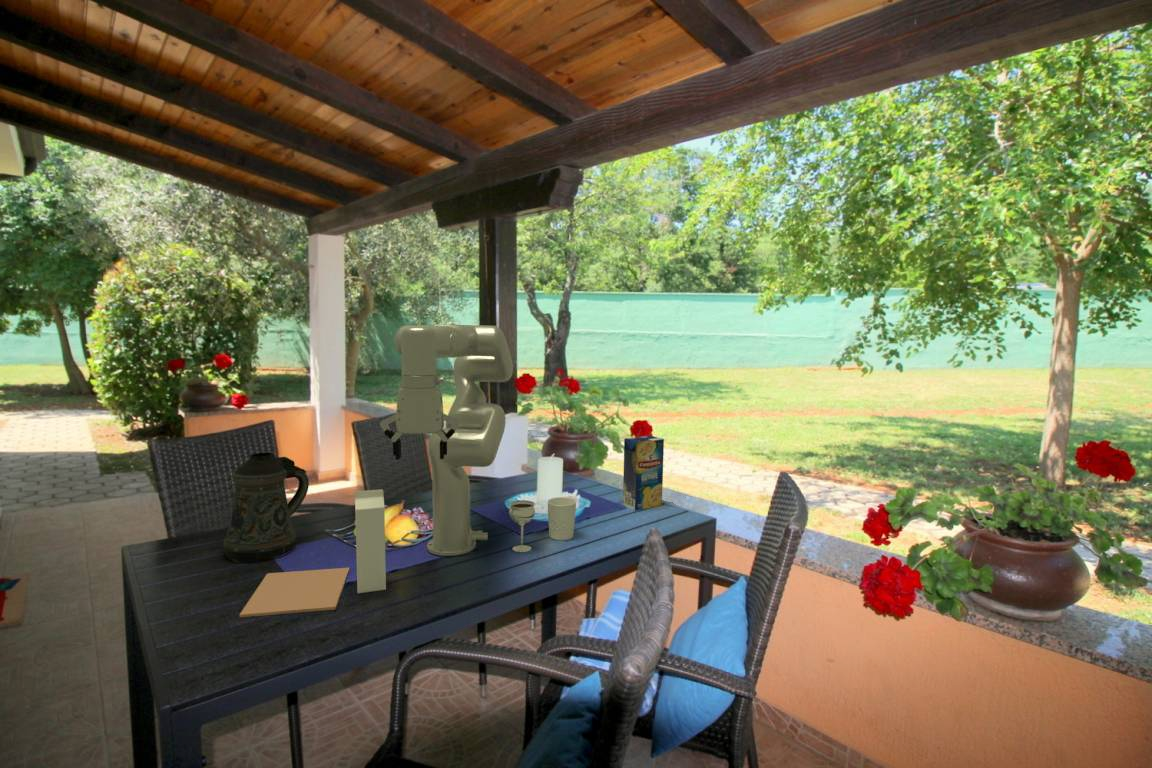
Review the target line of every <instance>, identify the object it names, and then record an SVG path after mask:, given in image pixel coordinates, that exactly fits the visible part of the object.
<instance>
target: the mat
mask: <svg viewBox="0 0 1152 768" xmlns="http://www.w3.org/2000/svg"><path fill="white" fill-rule="evenodd" d="M349 569H350V567H339V568H337V567H336V568H325V569H310V570H295V571H286V572H285V571H283V572H282V571H281V572H268V573H266V575H265V576H264V578H263V580H262V581H261V582H260V584H259V585H258V586H257V588H256V589H255V591H254V593H253V594H252V595H251V597H250V598H249V600H248V601H247V603H246V605H244V607H243V609H242V610H241V612H240V613H239V614H238V615H239V618H249V617H250V618H251V617H252V616H253V617H264V616H273V615H274V616H275V615H285V614H298V613H309V612H320V611H321V612H322V611H332V610H333V611H334V610H337V606H338V603H339V602H340V601H339V600H340V598H341V595H342V592H343V589H344V587H345V584H346V582H345V580H346V581H347V579H346V577H347V578H348V576H347V574H348V575H349V573H350V570H351V569H350V570H349ZM348 572H349V573H348Z"/></svg>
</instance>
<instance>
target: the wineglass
mask: <svg viewBox="0 0 1152 768" xmlns="http://www.w3.org/2000/svg"><path fill="white" fill-rule="evenodd" d="M508 505H509V507H510V508H509V510H508V514H509V517H510V519H511V520H512V521H513V522H514V523H516V524H518V525H519V526H520V544H519V545H515V546H513V547H512V550H513V551H514V552H518V553H527V552H529V551H531V550H532V547H531V546H530V545H526V544H523V543H524V542H523V541H524V526H525V525H526V524H527V523H530V522H531V521H532V520H533V518H534V517H535V514H536V513H535V512H536V510H535V507H534V506H535V505H536V504H535V502H534V501H532V500H531V501H530V500H526V499H525V500H523V499H521V500H519V499H518V500H514V501H511V502H510V503H509V504H508Z"/></svg>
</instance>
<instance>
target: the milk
mask: <svg viewBox="0 0 1152 768" xmlns="http://www.w3.org/2000/svg"><path fill="white" fill-rule="evenodd" d="M384 495H385V494H384V489H382V488H381V489H372V490H371V489H370V490H359V491H355V492H354V504H355V505H354V507H355V508H354V509H355V512H354V514H355V518H354V519H355V546H356V547H355V551H356V552H355V553H356V583H357V584H356V586H357V587H356V588H357V594H365V593H370V592H379V591H384V590H385V591H386V589H387V579H386V578H387V576H386V573H387V571H386V527H385V526H386V521H385V520H386V519H385V516H386V515H385V498H384Z"/></svg>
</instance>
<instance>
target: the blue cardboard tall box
mask: <svg viewBox="0 0 1152 768" xmlns="http://www.w3.org/2000/svg"><path fill="white" fill-rule="evenodd" d="M623 444H624V445H623V448H624V449H623V450H624V451H623V480H622V481H623V482H622V485H623V486H622V489H623V490H622V491H623V492H622V497H623V498H622V505H623V506H625V507H627V508H629V509H630V510H634V511H640V510H646V509H650V508H655V507H659V506H662V505H663V482H664V481H663V480H664V478H663V477H664V451H665V447H664V446H665V439H664V438H661V437H657V436H653V435H645V436H637V437H629V438H627V437H626V438H623Z"/></svg>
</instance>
